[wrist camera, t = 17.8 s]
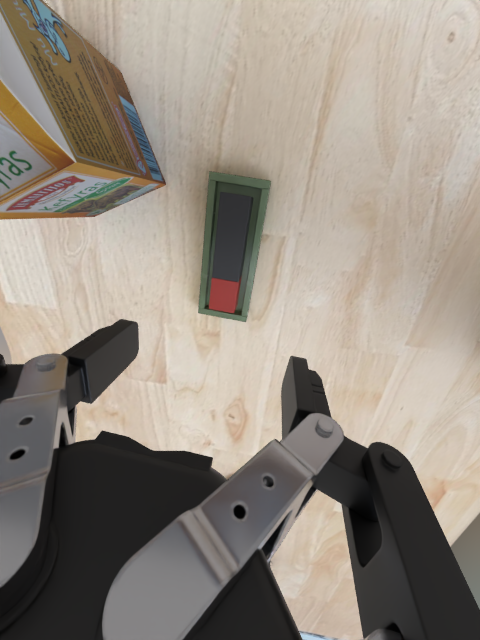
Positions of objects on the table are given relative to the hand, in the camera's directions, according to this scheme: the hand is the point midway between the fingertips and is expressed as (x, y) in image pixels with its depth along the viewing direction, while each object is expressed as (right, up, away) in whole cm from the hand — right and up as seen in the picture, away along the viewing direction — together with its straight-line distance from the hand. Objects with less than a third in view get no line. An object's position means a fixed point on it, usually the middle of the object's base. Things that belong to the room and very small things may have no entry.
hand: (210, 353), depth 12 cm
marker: (+1, +10, +17) cm, 20 cm away
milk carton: (-14, +21, +15) cm, 29 cm away
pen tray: (+1, +10, +18) cm, 21 cm away
